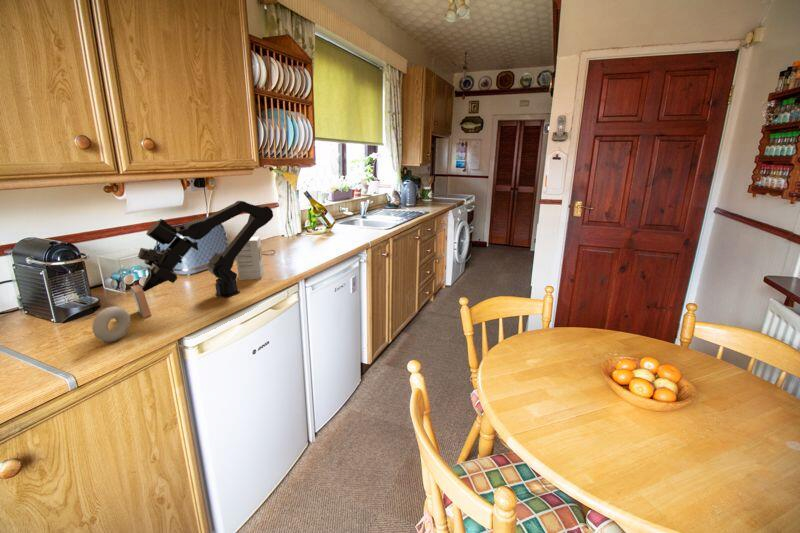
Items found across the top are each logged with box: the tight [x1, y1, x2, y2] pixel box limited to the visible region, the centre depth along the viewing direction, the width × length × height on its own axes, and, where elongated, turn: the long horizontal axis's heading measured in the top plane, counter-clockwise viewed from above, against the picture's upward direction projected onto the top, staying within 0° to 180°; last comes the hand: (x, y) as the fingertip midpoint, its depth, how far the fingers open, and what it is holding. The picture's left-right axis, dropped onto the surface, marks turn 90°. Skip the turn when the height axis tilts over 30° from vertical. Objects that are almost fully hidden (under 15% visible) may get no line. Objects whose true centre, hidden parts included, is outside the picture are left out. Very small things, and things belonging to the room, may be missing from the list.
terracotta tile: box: [130, 284, 152, 319], centre depth 124 cm, size 2×8×9 cm, turn 43°
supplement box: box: [235, 236, 265, 281], centre depth 161 cm, size 10×9×17 cm
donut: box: [92, 306, 131, 343], centre depth 105 cm, size 10×4×10 cm, turn 166°
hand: (142, 290), depth 123 cm, fingers closed
